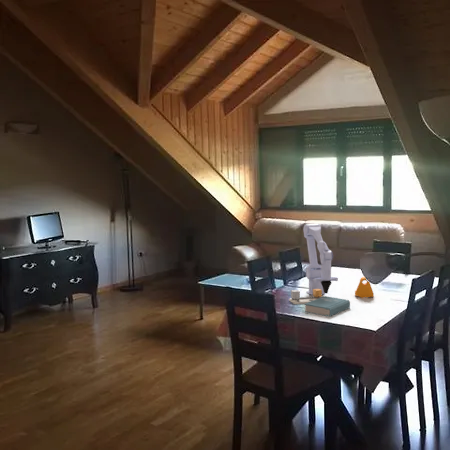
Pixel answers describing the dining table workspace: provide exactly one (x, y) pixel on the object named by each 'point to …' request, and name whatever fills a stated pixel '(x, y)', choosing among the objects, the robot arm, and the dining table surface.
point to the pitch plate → (300, 298)
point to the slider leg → (317, 293)
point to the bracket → (364, 289)
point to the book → (327, 306)
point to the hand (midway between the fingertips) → (325, 293)
